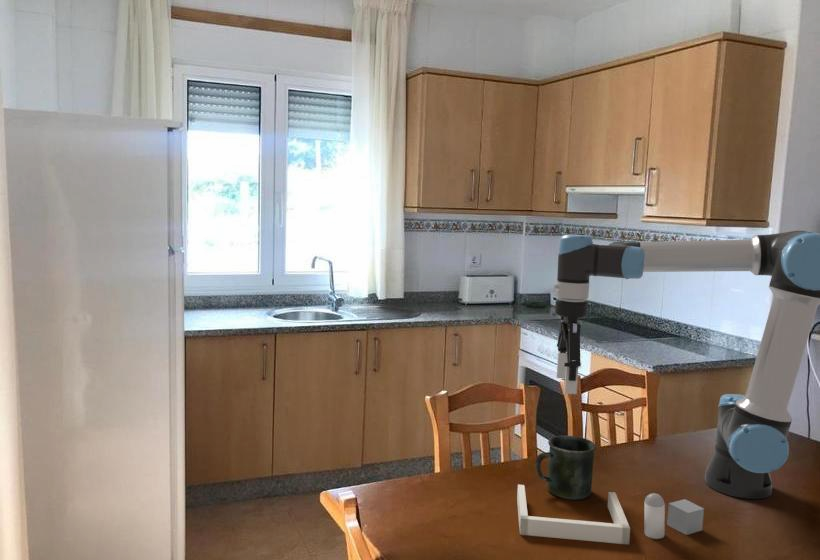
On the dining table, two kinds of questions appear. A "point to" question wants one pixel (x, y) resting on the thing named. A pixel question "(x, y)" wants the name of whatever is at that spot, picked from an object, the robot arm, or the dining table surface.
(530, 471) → the dining table surface
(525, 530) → the corral
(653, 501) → the cylinder
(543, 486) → the dining table surface
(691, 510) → the grey box
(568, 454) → the mug
